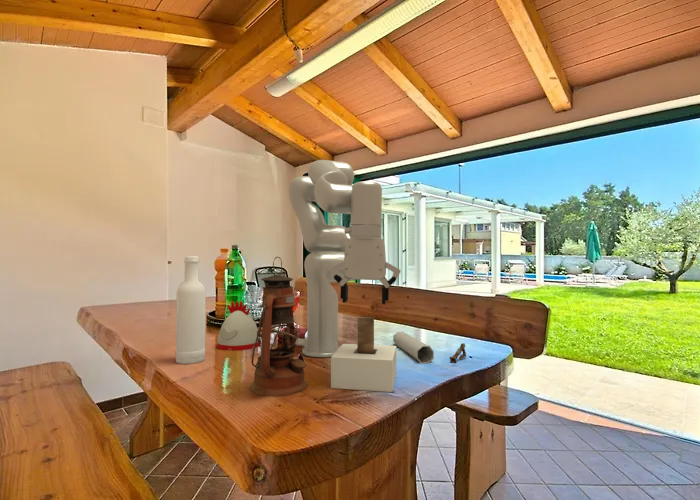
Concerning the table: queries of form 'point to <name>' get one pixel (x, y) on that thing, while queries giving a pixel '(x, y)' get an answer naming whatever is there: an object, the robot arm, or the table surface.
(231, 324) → the white and red dome
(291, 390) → the lantern
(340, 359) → the bore block
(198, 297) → the bottle
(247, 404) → the table surface
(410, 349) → the tube
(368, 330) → the pin
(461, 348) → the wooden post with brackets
